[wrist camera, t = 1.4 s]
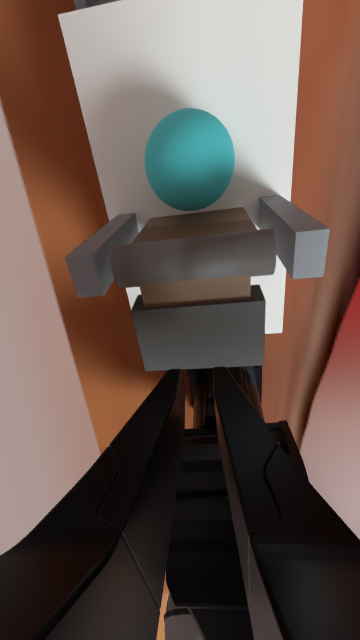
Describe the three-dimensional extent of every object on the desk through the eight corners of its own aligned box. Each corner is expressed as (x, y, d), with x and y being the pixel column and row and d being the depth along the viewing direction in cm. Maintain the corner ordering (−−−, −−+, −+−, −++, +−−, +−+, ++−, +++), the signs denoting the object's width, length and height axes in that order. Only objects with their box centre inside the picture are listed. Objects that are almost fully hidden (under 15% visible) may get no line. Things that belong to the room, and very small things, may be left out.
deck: (271, 307, 22) (317, 419, 13) (147, 317, 24) (111, 424, 15) (284, -2, 14) (438, -289, 5) (87, 40, 15) (-95, -120, 6)
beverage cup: (169, 483, 36) (137, 778, 19) (226, 481, 35) (246, 794, 18) (180, 512, 40) (161, 782, 23) (232, 511, 39) (253, 795, 22)
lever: (249, 292, 17) (271, 364, 12) (159, 299, 18) (138, 371, 12) (249, 199, 15) (277, 235, 9) (143, 212, 16) (107, 253, 10)
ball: (232, 198, 15) (240, 213, 12) (159, 207, 16) (146, 224, 12) (229, 106, 13) (237, 92, 10) (145, 120, 14) (125, 112, 10)
